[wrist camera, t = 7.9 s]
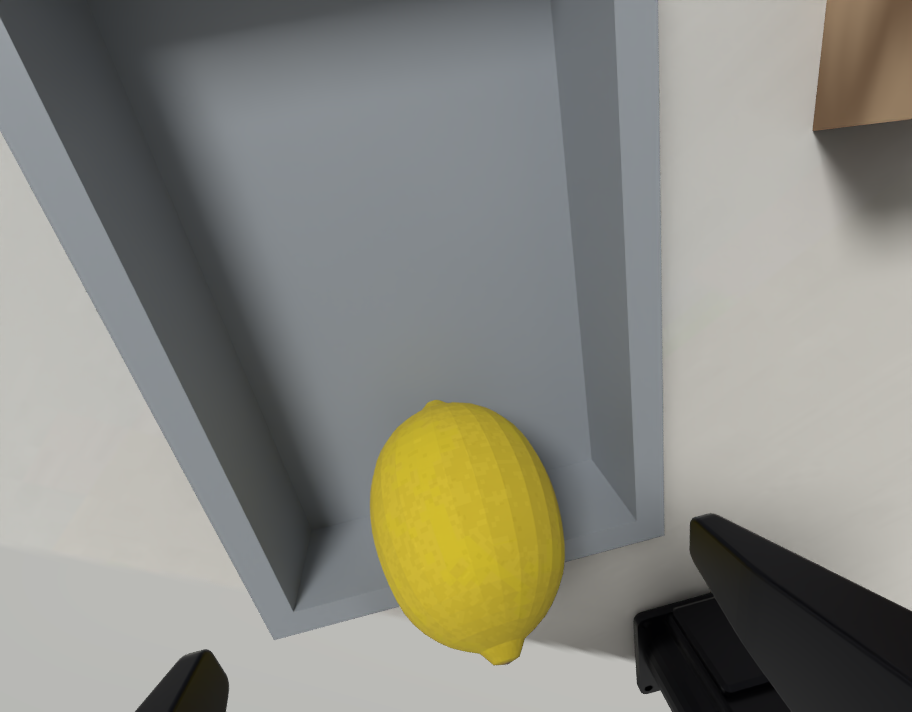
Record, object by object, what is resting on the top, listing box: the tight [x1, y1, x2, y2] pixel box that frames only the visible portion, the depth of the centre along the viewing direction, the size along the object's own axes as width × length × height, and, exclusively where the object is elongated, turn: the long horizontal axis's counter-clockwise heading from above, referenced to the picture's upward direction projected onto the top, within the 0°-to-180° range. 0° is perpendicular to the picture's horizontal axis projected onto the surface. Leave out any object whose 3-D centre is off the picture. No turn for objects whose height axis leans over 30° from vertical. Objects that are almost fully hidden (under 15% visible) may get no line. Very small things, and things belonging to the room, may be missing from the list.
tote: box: [0, 0, 664, 640], centre depth 13 cm, size 21×14×4 cm, turn 11°
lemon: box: [370, 400, 565, 665], centre depth 13 cm, size 6×6×8 cm
